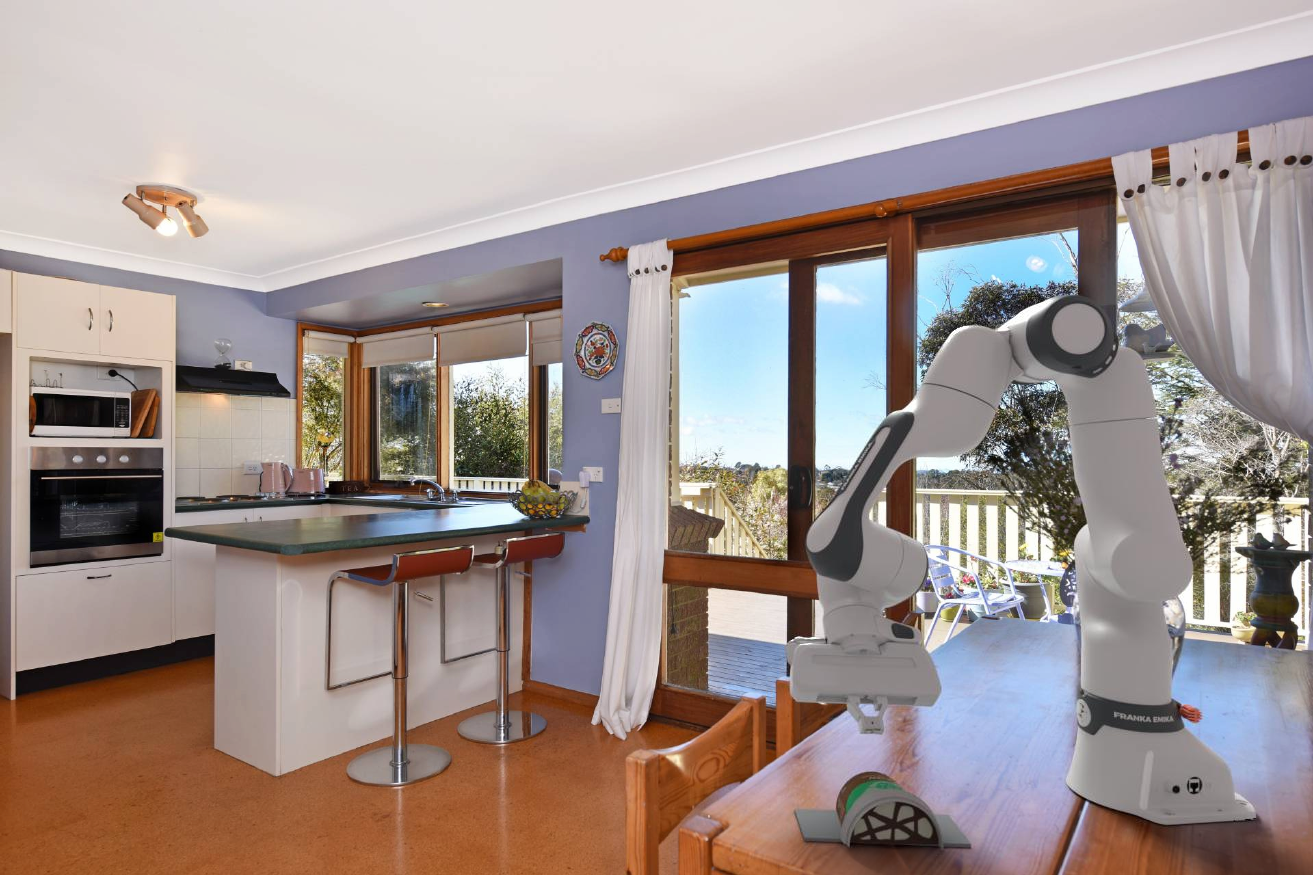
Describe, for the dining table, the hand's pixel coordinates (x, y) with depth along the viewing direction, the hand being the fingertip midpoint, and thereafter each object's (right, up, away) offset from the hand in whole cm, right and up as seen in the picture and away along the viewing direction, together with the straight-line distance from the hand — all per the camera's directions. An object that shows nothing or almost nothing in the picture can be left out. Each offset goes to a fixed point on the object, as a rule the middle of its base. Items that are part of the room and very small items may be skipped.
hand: (872, 732), depth 101 cm
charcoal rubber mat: (0, -10, -5) cm, 11 cm away
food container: (0, -7, 0) cm, 7 cm away
